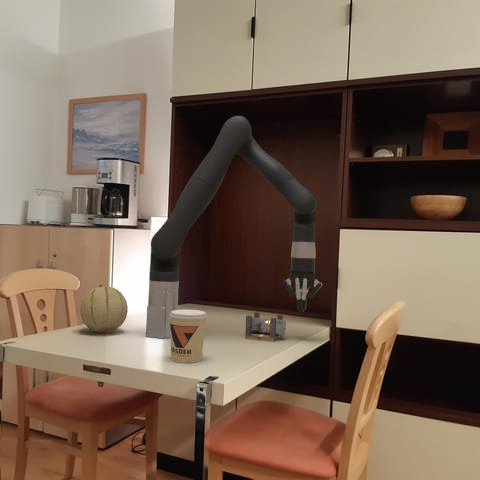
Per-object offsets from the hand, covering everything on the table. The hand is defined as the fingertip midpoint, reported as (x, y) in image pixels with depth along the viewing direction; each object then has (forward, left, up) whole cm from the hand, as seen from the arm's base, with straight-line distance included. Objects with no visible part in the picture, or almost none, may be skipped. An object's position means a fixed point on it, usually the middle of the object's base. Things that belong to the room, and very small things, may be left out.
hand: (301, 311), depth 153 cm
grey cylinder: (0, +11, -8) cm, 14 cm away
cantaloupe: (-20, +59, -10) cm, 63 cm away
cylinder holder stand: (0, +12, -10) cm, 15 cm away
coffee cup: (-39, +21, -10) cm, 45 cm away
